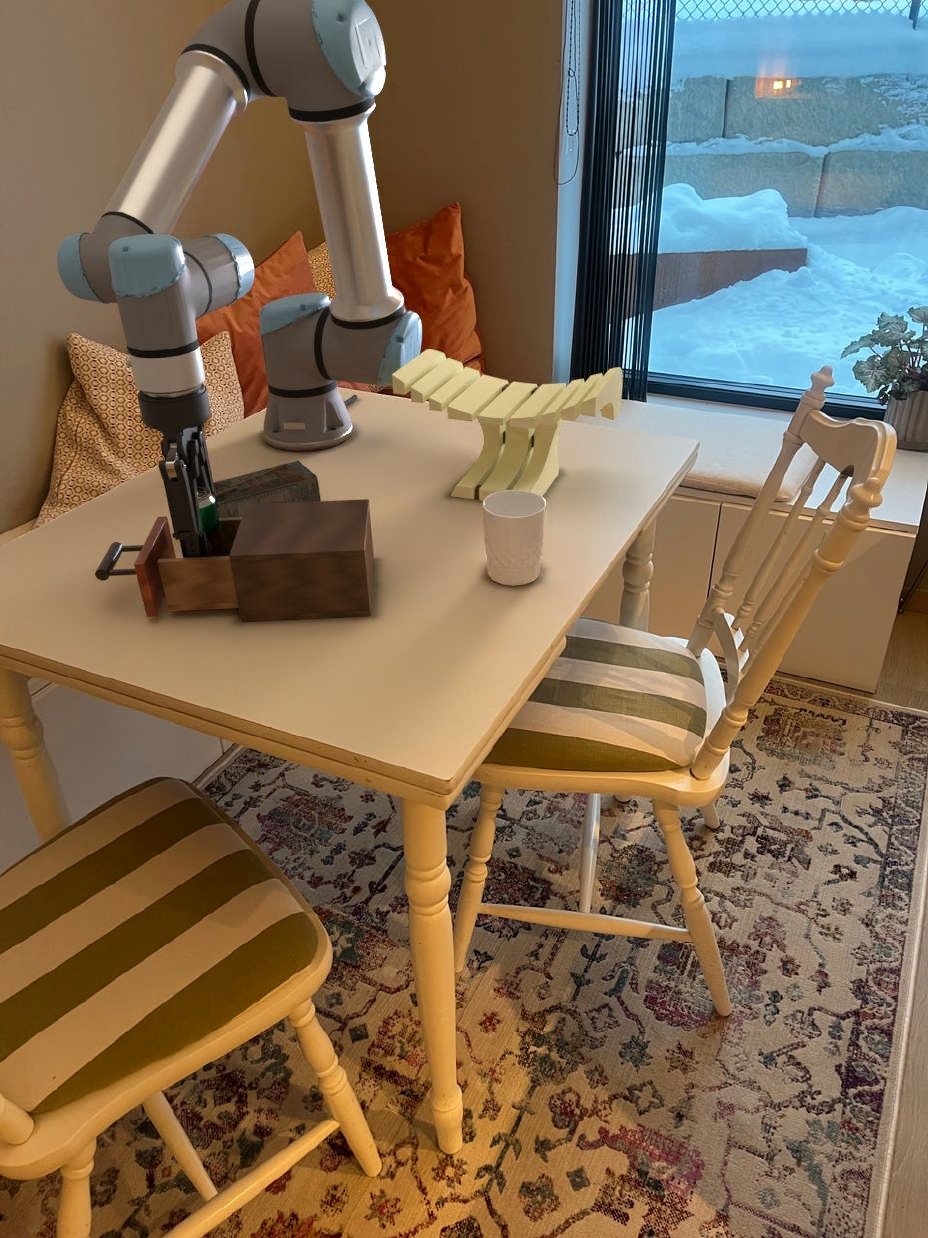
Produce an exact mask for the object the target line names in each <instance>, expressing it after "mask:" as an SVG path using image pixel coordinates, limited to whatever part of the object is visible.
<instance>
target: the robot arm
mask: <svg viewBox="0 0 928 1238" xmlns="http://www.w3.org/2000/svg"><path fill="white" fill-rule="evenodd" d="M386 65H387V55H386V48H385V43H384V38H383V34H382V30H381V28H380V24H379V22H378V19H377V18H376V15H375V14H374V12H373V9H372V8H371V7H370V6H369V5H368V3H367V1H366V0H231V1H228V3H226V4H224V5H223V6H222V7H220V8H219V9H218V10H217V11H215V12H214V13H213V14H211V16H209V18H208V19H206V20H205V22H204V23H203V24H202V25H200V27H199V28H198V29H197V30H196V32H194V34H193V35H192V36H191V38H190V39H189V41H188V43H186V45H185V47H184V49H183V50H182V51H181V54H180V55H179V57H178V58H177V61H176V63H175V66H174V77H175V83H174V85H173V86H172V88H171V90H170V92H169V94H168V95H167V98H166V99H165V101H164V102H163V104H162V106H161V108H160V109H159V111H158V113H157V115H156V117H155V119H154V120H153V123H152V124H151V126H150V128H149V130H147V133H146V135H145V136H144V138H143V141H142V142H141V144H140V146H139V147H138V149H137V151H136V152H135V155H134V156H133V159H132V160H131V162H130V164H129V166H128V167H127V169H126V171H125V173H124V174H123V176H122V179H121V180H120V182H119V184H118V185H117V187H116V189H115V191H114V193H113V195H112V196H111V197H110V200H109V201H108V203H107V205H106V207H105V209H104V210H103V212H102V214H101V216H100V219H98V221H97V223H96V225H95V227H94V228H93V230H92V231H91V232H87V231H86V232H85V231H82V232H80V233H73V234H70V235H68V236H67V237H65V238H64V239H63V240H62V241H61V243H60V245H59V247H58V250H57V255H56V265H57V272H58V275H59V278H60V280H61V282H62V284H63V285H64V287H65V288H66V290H67V291H68V292H69V293H70V294H71V295H72V296H74V297H76V298H77V299H80V300H85V301H89V302H95V303H96V302H97V303H102V304H105V305H106V304H107V305H109V304H117V309H118V312H119V316H120V320H121V324H122V329H123V333H124V338H125V343H126V349H127V352H128V357H127V358H126V359H125V365H126V366H127V367H128V368H131V370H132V376H133V380H134V385H135V387H136V389H137V390H139V391H138V393H137V395H136V397H137V402H138V406H139V411H140V416H141V420H142V422H143V424H144V426H145V427H146V428H149V429H151V430H156V431H158V432H160V433H161V434H162V440H161V441H160V451H161V456H162V457H163V458H164V460H158V464H157V467H158V470H159V473H160V476H161V479H162V482H163V486H164V491H165V495H166V496H165V497H166V501H167V506H168V511H169V515H170V520H171V526H172V530H173V533H171V536H172V539H175V540H176V541H179V540H182V544H183V549H184V553H185V558H194V557H210V555H209V549H208V544H207V539H206V534H205V532H203V531H202V527H201V518H200V510H199V502H198V494H197V486H203V487H207V488H209V489H210V491H211V494H212V495H213V496H214V497H215V494H216V492H215V489H214V483H213V482H214V478H213V474H212V468H211V462H210V457H209V451H208V446H207V441H206V432H205V431H206V430H205V423H206V422H208V420H209V419H210V417H211V415H212V409H211V403H210V399H209V392H208V387H207V385H205V384H204V382H205V381H206V375H205V373H206V372H205V368H204V363H203V357H202V352H201V347H200V346H201V345H200V342H199V338H198V337H199V336H198V333H197V331H198V330H197V326H196V325H197V323H196V320H197V319H200V318H202V317H204V316H207V315H208V314H211V313H212V312H215V311H217V310H219V309H222V308H224V307H229V306H231V305H233V304H234V303H236V302H237V301H238V300H240V299H241V298H243V297H244V296H246V295H247V294H248V293H249V291H251V288H252V287H253V285H254V281H255V266H254V262H253V258H252V256H251V254H250V252H249V250H248V248H247V247H246V246H245V245H244V244H243V243H242V241H240V240H239V239H238V238H236V237H234V236H232V235H230V234H226V233H215V234H205V235H204V236H201V237H200V238H193V239H192V238H177V237H175V236H173V235H171V234H172V232H173V230H174V229H175V227H176V225H177V222H178V221H179V219H180V217H181V215H182V213H183V211H184V209H185V207H186V205H187V203H188V201H189V200H190V198H191V196H192V194H193V192H194V190H195V188H196V186H197V184H198V182H199V181H200V179H201V176H202V174H203V173H204V171H205V169H206V167H207V166H208V163H209V161H210V159H211V157H212V155H213V153H214V152H215V150H216V147H217V146H218V144H219V142H220V140H221V138H222V136H223V134H224V132H225V130H226V128H227V127H228V125H229V123H230V121H233V120H236V119H239V118H240V117H241V116H243V114H244V112H245V111H246V109H247V107H248V104H250V103H251V102H252V101H255V100H258V99H261V98H267V97H271V98H285V101H286V105H287V108H288V109H287V111H288V114H289V119H290V120H292V121H293V122H294V123H295V124H296V125H298V126H299V127H300V128H302V129H303V133H304V137H305V142H306V148H307V153H308V158H309V163H310V167H311V172H312V178H313V183H314V188H315V193H316V198H317V203H318V208H319V209H318V210H319V213H320V218H321V224H322V229H323V233H324V239H325V243H326V244H325V245H326V249H327V253H328V259H329V264H330V269H331V274H332V280H333V284H334V285H333V286H334V289H335V296H334V297H333V298H332V299H330V297H329V295H328V294H326V293H323V292H307V293H299V294H293V295H289V296H284V297H280V298H278V299H274V300H272V301H269V302H268V303H266V304H264V305H263V306H262V307H261V308H260V310H259V313H258V325H259V334H258V335H259V337H260V342H261V346H262V347H261V349H262V355H263V362H264V369H265V375H266V381H267V388H268V399H267V405H266V410H265V415H264V421H263V428H262V431H263V439H264V441H265V442H266V443H267V444H268V445H269V446H271V447H273V448H276V449H279V450H285V451H294V452H306V451H307V452H308V451H318V450H323V449H327V448H331V447H334V446H337V445H339V444H342V443H344V442H345V441H347V440H349V439H350V437H351V436H352V435H353V423H352V418H351V416H350V414H349V411H348V408H347V406H349V405H351V404H352V403H353V402H355V401H356V400H357V399H358V395H357V394H353V395H352V396H350V397H349V398H348V399H346V400H343V397H342V395H341V393H340V390H339V386H338V385H339V384H338V382H346V383H355V384H365V385H373V386H374V385H375V386H378V387H381V388H382V387H384V386H387V387H393V382H392V374H393V373H395V372H396V371H397V370H399V369H400V368H402V367H403V366H404V365H406V364H407V363H409V362H410V361H411V360H413V359H414V358H416V357H417V356H418V355H420V354H421V348H422V342H423V341H422V340H423V325H422V320H421V318H420V316H419V315H418V313H417V312H414V311H413V310H406V306H405V302H404V301H405V300H404V295H403V293H402V292H401V291H400V290H399V289H398V288H396V287H394V286H393V285H392V279H391V272H390V266H389V260H388V254H387V253H388V252H387V247H386V240H385V232H384V227H383V220H382V215H381V214H382V213H381V208H380V202H379V201H380V200H379V194H378V188H377V182H376V174H375V168H374V162H373V156H372V147H371V143H370V142H371V141H370V136H369V128H368V123H367V122H368V118H369V117H370V115H371V113H372V112H373V111H374V109H375V107H376V100H375V97H377V96H378V95H379V94H380V93H381V91H382V89H383V87H384V84H385V81H386V75H387V74H386V69H385V67H386ZM216 505H217V508H219V506H220V502H219V500H216Z"/></svg>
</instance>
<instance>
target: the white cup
mask: <svg viewBox="0 0 928 1238" xmlns="http://www.w3.org/2000/svg"><path fill="white" fill-rule="evenodd" d="M481 505H482V521H483V535H484V548H485V555H486V562H487V563H486V565H487V567H486V568H487V575H488V577H489V578H490V579H491V580H492V581H493V582H496V583H498V584H500V585H504V586H512V587H513V586H524V585H527V584H530V583H533V582H534V581H536V579H538V578H539V576H540V571H541V561H542V555H543V547H544V538H545V527H546V524H545V523H546V511H547V500H546V499H545V498H544V497H543V496H540V495H538V494H536V493H533V492H530V491H525V490H504V491H499V492H495V493H493V494H490V495H489V496H487V497H486V498H485V499H484V500H483V501H482V503H481Z"/></svg>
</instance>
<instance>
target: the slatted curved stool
mask: <svg viewBox="0 0 928 1238" xmlns="http://www.w3.org/2000/svg"><path fill="white" fill-rule="evenodd" d="M392 382H393V386H392V394H395V395H396V394H397V395H404V396H405V395H407V394H408V393H410V402H411V403H419V404H424V403H425V402H427V401H428V410H429V411H434V412H443V411H444V410H447V411H446V413H447V414H446V415H447V419H448V420H455V421H464V422H465V421H466V422H473V421H474V420H475V419H477V422H478V423H479V425H480V427H481V430H482V435H483V446H482V450H481V452H480V454H479V456H478V458H477V459H476V461H475V463H474V464H473V465H472V467H470V469H469V470H468V472H466V474H465V475H464V476H463V477H462V478H461V480H459V482H457V484H456V485H455V487H454V489H453V491H452V493H451V495H450V497H454V498H460V499H467V500H474V499H476V498H477V499H478V500H479V501H481V502H483V500H484V499H485V498H486V497H487V496H489V495H490V494H493V493H495V492H499V491H504V490H525V491H530V492H533V493H536V494H538V495H540V496H542V497H543V496H544V495H545V494H546V492H547V491H548V489H549V488H550V487H551V485H552V484H553V482H554V481H555V480H556V479H557V478H558V476H559V472H560V468H559V466H560V465H559V458H558V455H559V454H558V443H559V436H560V432H561V429H562V427H563V424H564V422H565V421H571V422H575V421H576V420H577V419H578V418H579V417H580V415H581V416H586V417H596V416H597V415H598V414H599V413H600V416H601V417H603V418H606V419H609V420H611V421H615V420H616V418H617V417H618V415H619V413H620V412H621V411H622V398H623V384H624V383H623V382H624V377H623V370H622V367H617V366H616V367H612V368H609V369H607V371H606V372H605V374H604V375H603V373H602V372H599V373H596V374H592V375H590V376H589V377H588V378H587V380H585V379H584V378H579V379H573V380H571V381H570V383H569V384H568V385H567V384H566V382H559V383H558V382H557V383H542V384H541V385H540V386H538V384H537V383H529V382H520V381H512V382H511V383H509V381H508V379H503V378H499V377H495V376H491V375H487V374H482V375H481V373H480V370H478V369H475V368H472V367H468V366H465V367H464V365H463V362H461V361H459V360H456V359H453V358H450V357H446V354H445V352H442V351H439V350H436V349H431V348H427V349H425V350H423V352H420V354H419V355H418V356H417V357H416V358H414V359H413V360H411V361H410V362H409V363H407V364H406V365H404V366H403V367H402V368H400V369H399V370H397V371H396V372H395V373H393V374H392Z"/></svg>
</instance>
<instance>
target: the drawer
mask: <svg viewBox="0 0 928 1238" xmlns="http://www.w3.org/2000/svg"><path fill="white" fill-rule="evenodd" d="M241 519H242V517H230V518H219V521H220V527H221V532H222V538H223V543H224V549H225V554H226V556H217V557H194V558H183V557H177V555H176V551H175V545H174V541H173V535H172V532H171V528H170V527H171V526H170V523H169V518H168V516H167V515H166V516H164V515H163V516H157V518H156V520H155V521H154V523H153V525H152V528H151V529H150V532H149V533H148V536H147V538H146V540H145V541H144V543H143V544H136V545H134V544H133V545H123V544H122V543H121V542H118V541H113V542H112V543H111V544H110V546H109V547H108V549H107V550H106V552H105V555H104V556H103V558H102V559H101V561H100V563H99V565H98V567H97V569H95V571H94V576H95V578H96V579H97V580H99V581H102V582H103V581H107V580H108V579H109V578H110V577H118V576H119V577H120V576H136V580H137V584H138V587H139V591H140V596H141V599H142V604H143V608H144V612H145V615H146V618H157V617H158V614H159V612H160V609H161V607H162V605H163V602H164V600H165V602H166V607H167V611H168V612H179V611H180V612H181V611H198V610H199V611H201V610H221V609H222V610H223V609H239V608H238V602H237V597H236V591H235V586H234V580H233V575H232V569H231V564H230V558H229V555H230V552H231V549H232V546H233V543H234V540H235V537H236V534H237V531H238V528H239V525H240V522H241ZM132 552H139V553H138V556H137V557H136V559H135V561H134V563H133V566H134V568H115V567H116V565H117V563H118V561H119V559H120V558H121V556H122V553H132Z"/></svg>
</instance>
